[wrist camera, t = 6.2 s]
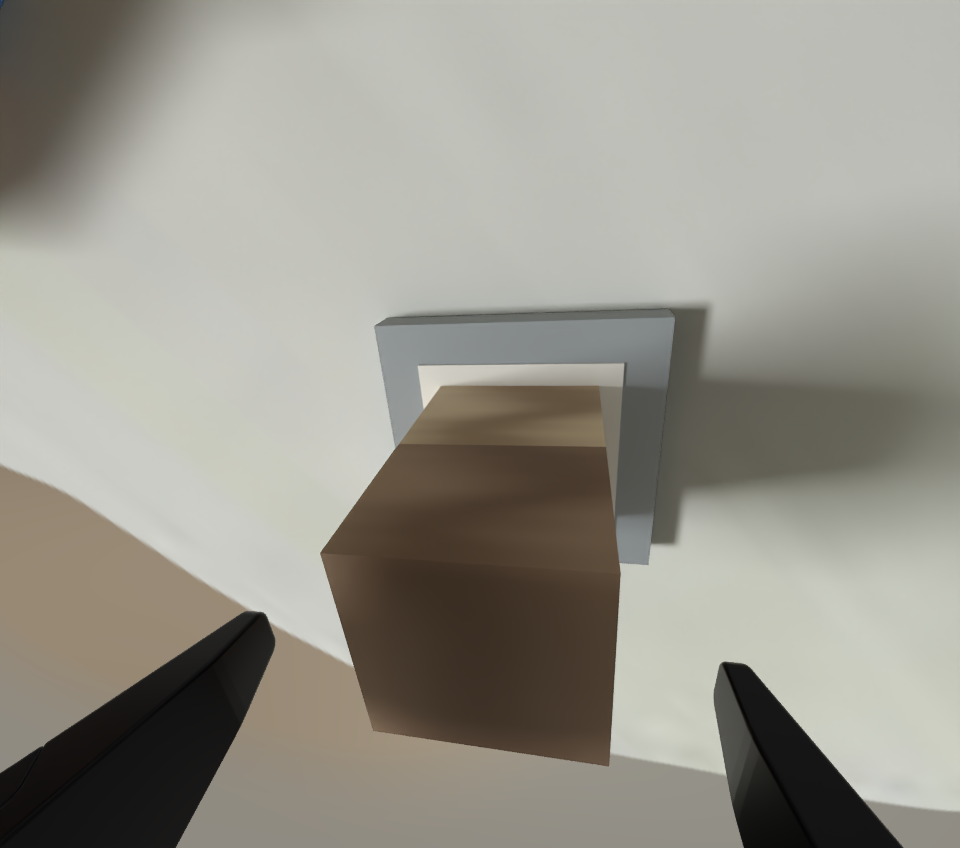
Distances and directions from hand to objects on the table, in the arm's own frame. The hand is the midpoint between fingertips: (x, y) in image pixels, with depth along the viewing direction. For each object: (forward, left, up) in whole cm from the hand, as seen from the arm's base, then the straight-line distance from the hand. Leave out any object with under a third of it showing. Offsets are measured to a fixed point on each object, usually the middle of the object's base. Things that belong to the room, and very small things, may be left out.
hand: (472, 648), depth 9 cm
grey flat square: (0, 0, -9) cm, 9 cm away
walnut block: (0, 0, -4) cm, 4 cm away
